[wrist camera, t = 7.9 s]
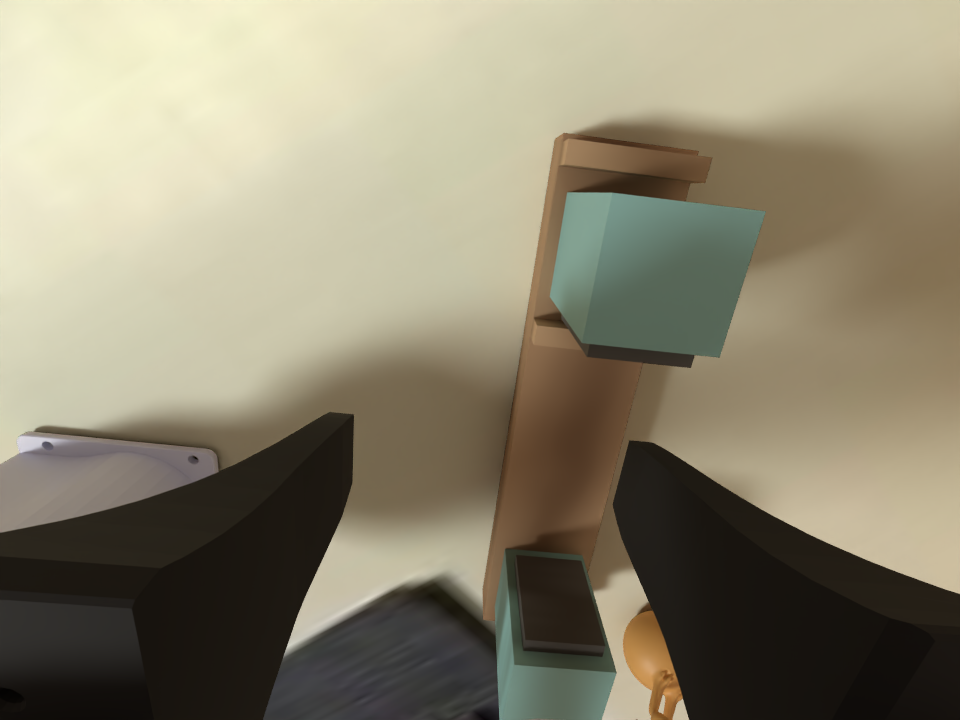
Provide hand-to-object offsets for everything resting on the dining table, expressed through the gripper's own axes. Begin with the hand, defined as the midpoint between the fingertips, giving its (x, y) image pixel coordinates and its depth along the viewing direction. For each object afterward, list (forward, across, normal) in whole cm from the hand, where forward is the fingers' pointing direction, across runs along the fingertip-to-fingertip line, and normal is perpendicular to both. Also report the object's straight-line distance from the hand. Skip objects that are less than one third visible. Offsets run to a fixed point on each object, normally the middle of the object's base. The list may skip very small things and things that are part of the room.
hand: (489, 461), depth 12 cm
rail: (+10, -4, +3) cm, 11 cm away
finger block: (+8, -4, -5) cm, 10 cm away
